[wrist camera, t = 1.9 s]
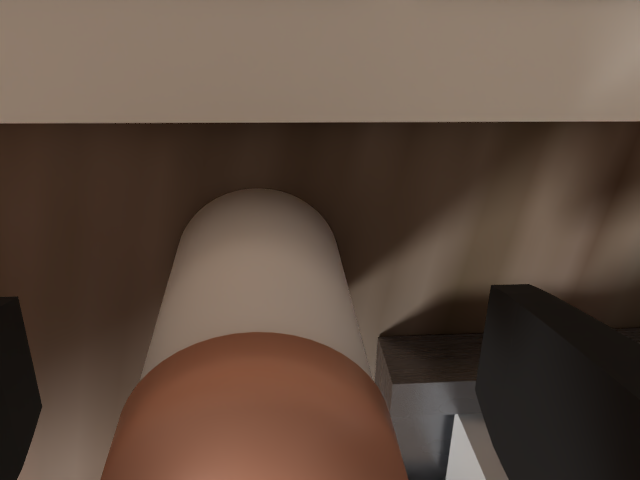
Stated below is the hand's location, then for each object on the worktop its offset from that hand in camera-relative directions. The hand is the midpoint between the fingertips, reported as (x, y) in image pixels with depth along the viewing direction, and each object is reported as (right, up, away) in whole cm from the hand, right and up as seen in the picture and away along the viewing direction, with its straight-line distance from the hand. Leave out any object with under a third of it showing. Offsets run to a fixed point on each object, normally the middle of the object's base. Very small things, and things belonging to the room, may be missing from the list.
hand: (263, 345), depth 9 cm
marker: (0, +1, +3) cm, 3 cm away
